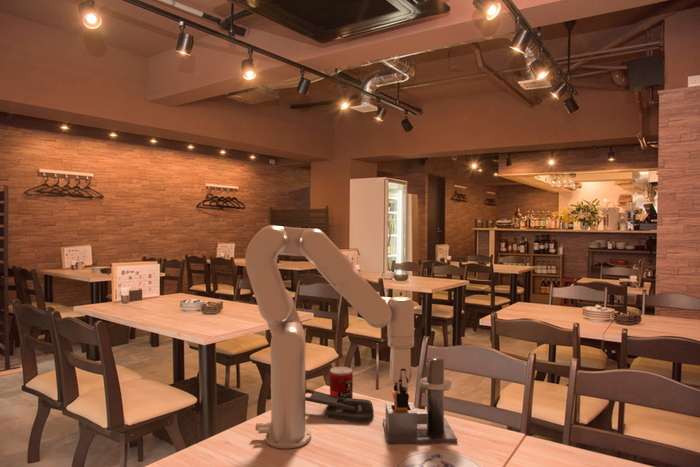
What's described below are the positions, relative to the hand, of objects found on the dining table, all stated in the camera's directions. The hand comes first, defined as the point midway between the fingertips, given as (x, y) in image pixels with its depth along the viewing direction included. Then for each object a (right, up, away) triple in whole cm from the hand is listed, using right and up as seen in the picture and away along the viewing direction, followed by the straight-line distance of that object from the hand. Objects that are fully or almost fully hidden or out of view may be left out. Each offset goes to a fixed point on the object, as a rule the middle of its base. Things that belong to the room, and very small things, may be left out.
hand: (400, 402), depth 133 cm
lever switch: (+5, -9, 0) cm, 10 cm away
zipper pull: (-20, -9, +13) cm, 25 cm away
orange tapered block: (0, -7, 0) cm, 7 cm away
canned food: (-18, -9, +24) cm, 31 cm away
